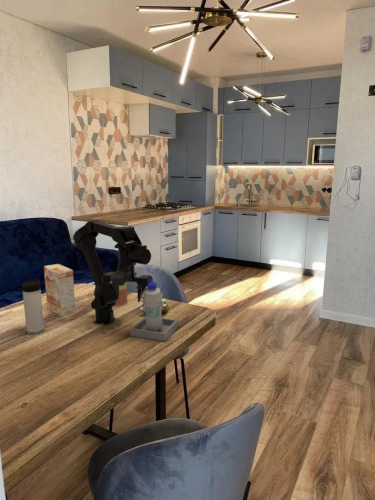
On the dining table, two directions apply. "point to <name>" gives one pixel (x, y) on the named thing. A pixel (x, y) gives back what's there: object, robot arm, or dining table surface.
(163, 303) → the passion flower
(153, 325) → the bottle
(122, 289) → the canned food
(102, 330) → the dining table surface
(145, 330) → the open box
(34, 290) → the travel mug
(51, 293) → the coffeecake box
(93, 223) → the robot arm
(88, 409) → the dining table surface
